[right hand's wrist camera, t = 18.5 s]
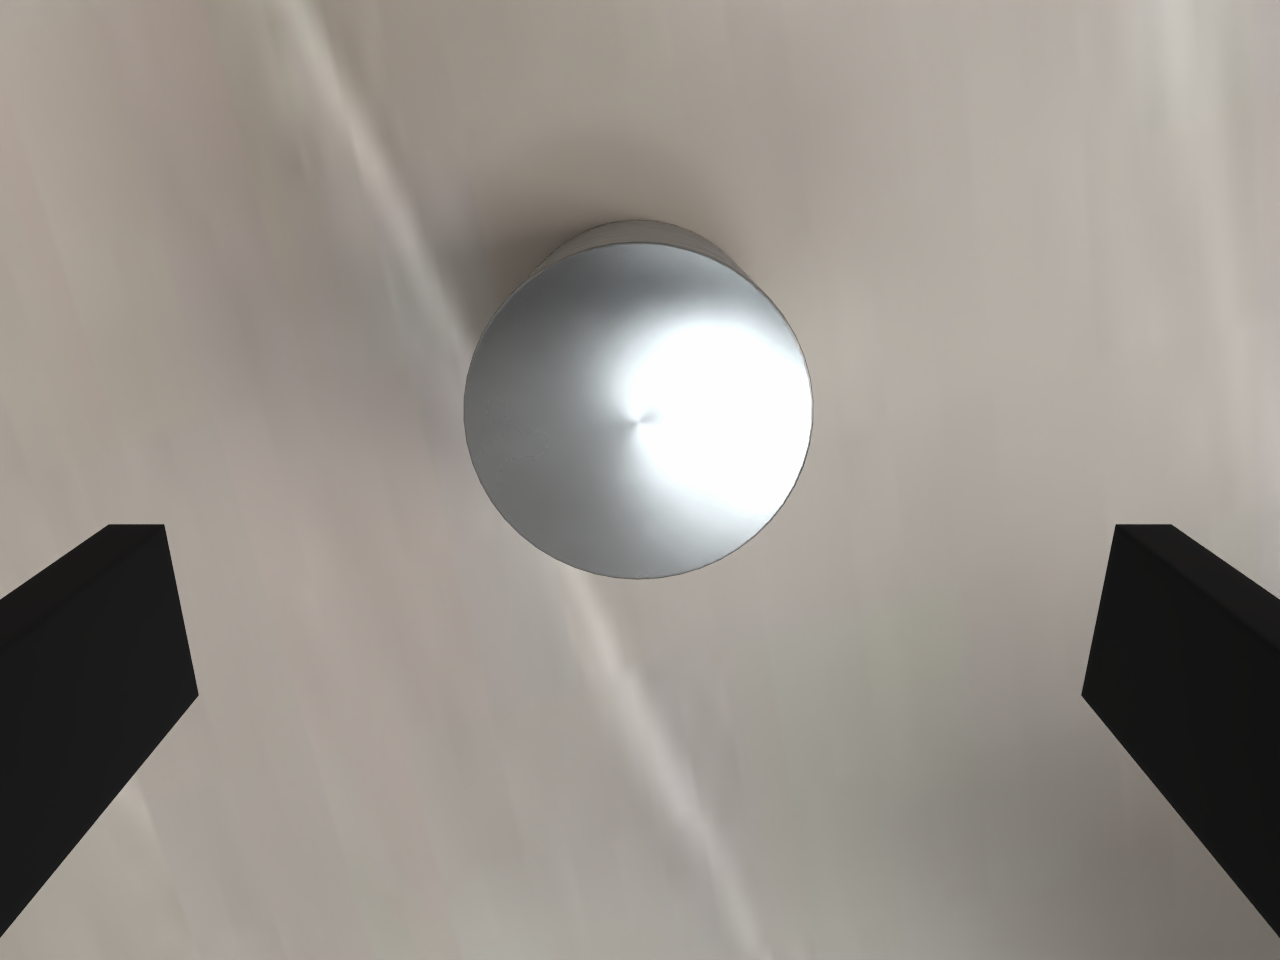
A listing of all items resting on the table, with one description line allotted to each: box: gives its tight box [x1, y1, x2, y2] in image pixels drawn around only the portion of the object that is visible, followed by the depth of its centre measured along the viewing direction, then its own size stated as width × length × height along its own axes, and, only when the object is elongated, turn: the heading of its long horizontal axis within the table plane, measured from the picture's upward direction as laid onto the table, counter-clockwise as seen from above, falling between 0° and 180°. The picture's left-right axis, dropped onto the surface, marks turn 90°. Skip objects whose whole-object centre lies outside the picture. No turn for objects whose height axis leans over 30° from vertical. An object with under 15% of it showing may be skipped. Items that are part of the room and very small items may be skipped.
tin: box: [464, 220, 813, 579], centre depth 26 cm, size 9×9×9 cm
